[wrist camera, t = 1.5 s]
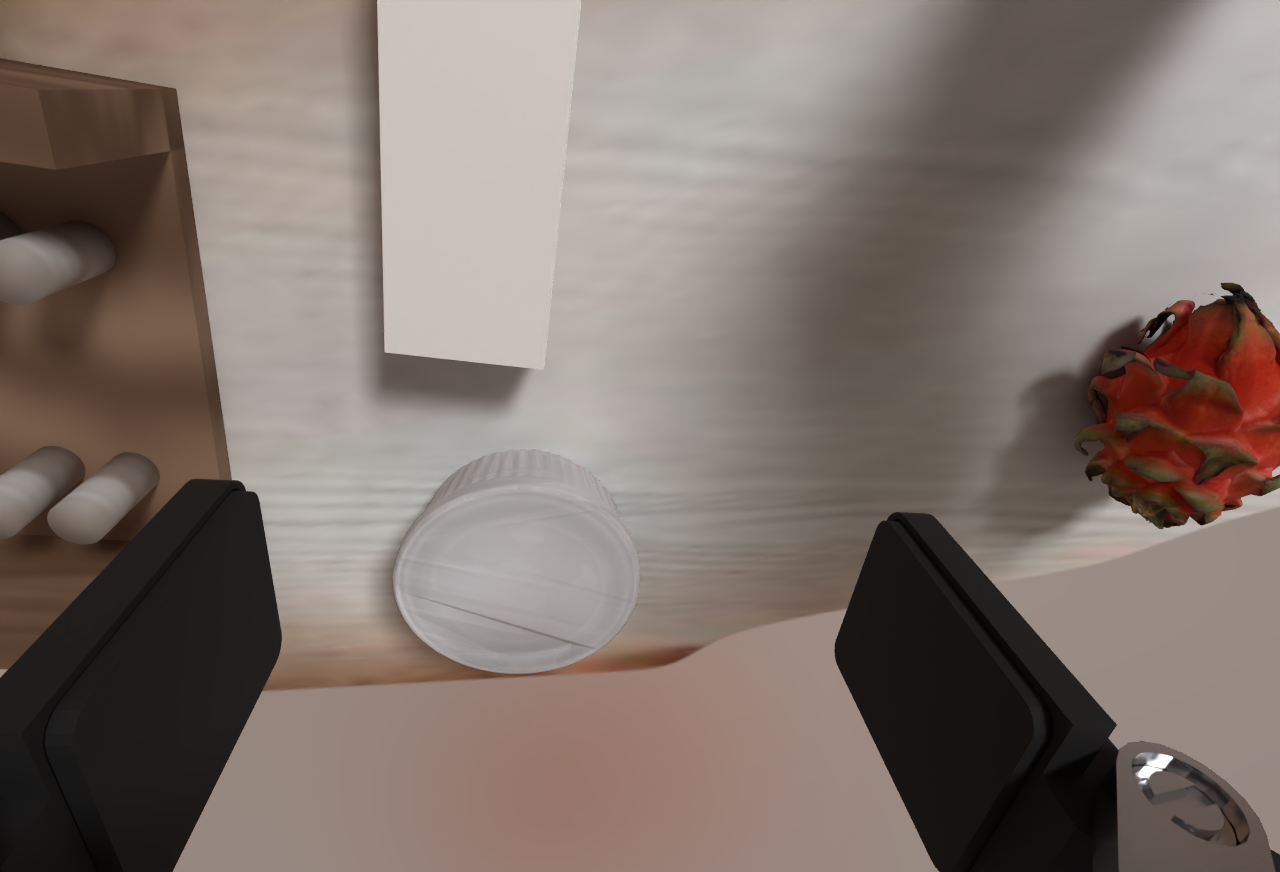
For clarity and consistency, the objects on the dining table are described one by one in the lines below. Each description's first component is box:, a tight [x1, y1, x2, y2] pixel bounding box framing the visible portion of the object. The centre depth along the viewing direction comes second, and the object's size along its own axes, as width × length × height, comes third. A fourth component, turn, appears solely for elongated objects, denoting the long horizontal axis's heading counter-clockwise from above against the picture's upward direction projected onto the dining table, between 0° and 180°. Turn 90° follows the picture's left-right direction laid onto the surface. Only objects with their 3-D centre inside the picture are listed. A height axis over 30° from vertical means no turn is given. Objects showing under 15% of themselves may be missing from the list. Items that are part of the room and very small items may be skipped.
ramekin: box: [392, 449, 640, 674], centre depth 32 cm, size 11×11×5 cm
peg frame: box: [0, 58, 231, 669], centre depth 24 cm, size 22×10×7 cm, turn 170°
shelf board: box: [377, 0, 581, 370], centre depth 23 cm, size 15×6×4 cm, turn 171°
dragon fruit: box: [1074, 283, 1280, 529], centre depth 31 cm, size 8×8×12 cm
